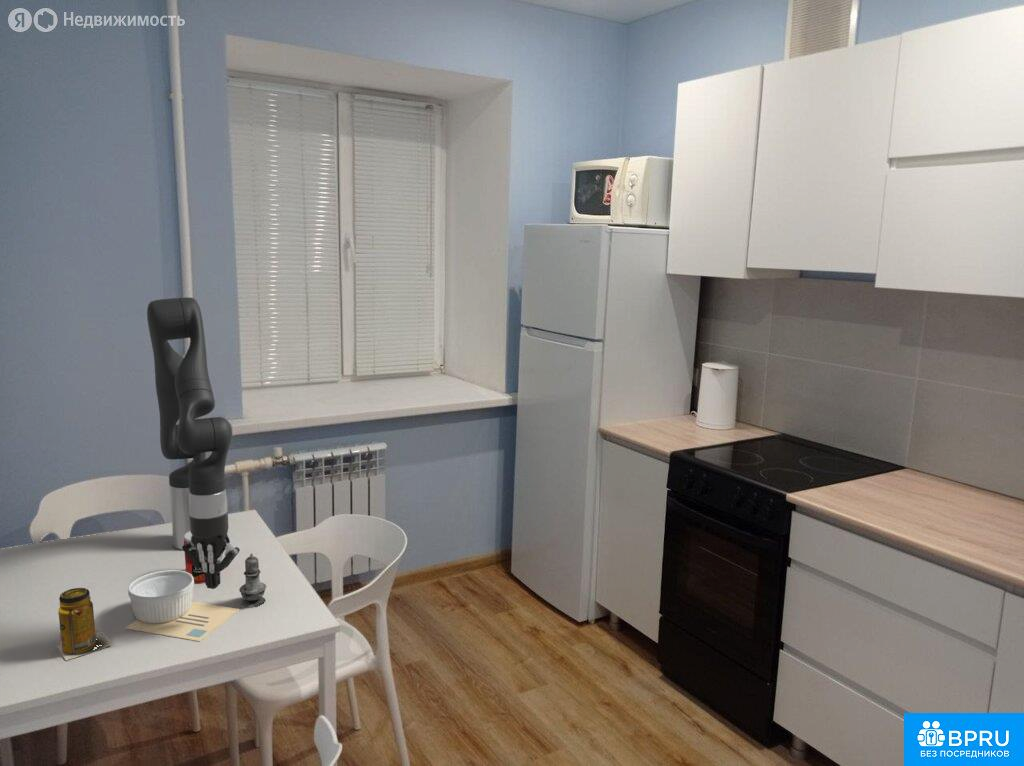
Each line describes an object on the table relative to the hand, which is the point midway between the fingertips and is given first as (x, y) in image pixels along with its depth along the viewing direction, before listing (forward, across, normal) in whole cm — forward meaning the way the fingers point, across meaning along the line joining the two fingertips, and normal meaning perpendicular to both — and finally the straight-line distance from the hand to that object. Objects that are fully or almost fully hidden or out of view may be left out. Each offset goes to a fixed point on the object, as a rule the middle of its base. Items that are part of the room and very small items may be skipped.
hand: (212, 587), depth 162 cm
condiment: (+8, +19, +16) cm, 26 cm away
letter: (+8, +7, +1) cm, 11 cm away
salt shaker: (+8, -3, -10) cm, 14 cm away
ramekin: (+8, +13, 0) cm, 15 cm away
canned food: (+8, +16, -18) cm, 26 cm away
